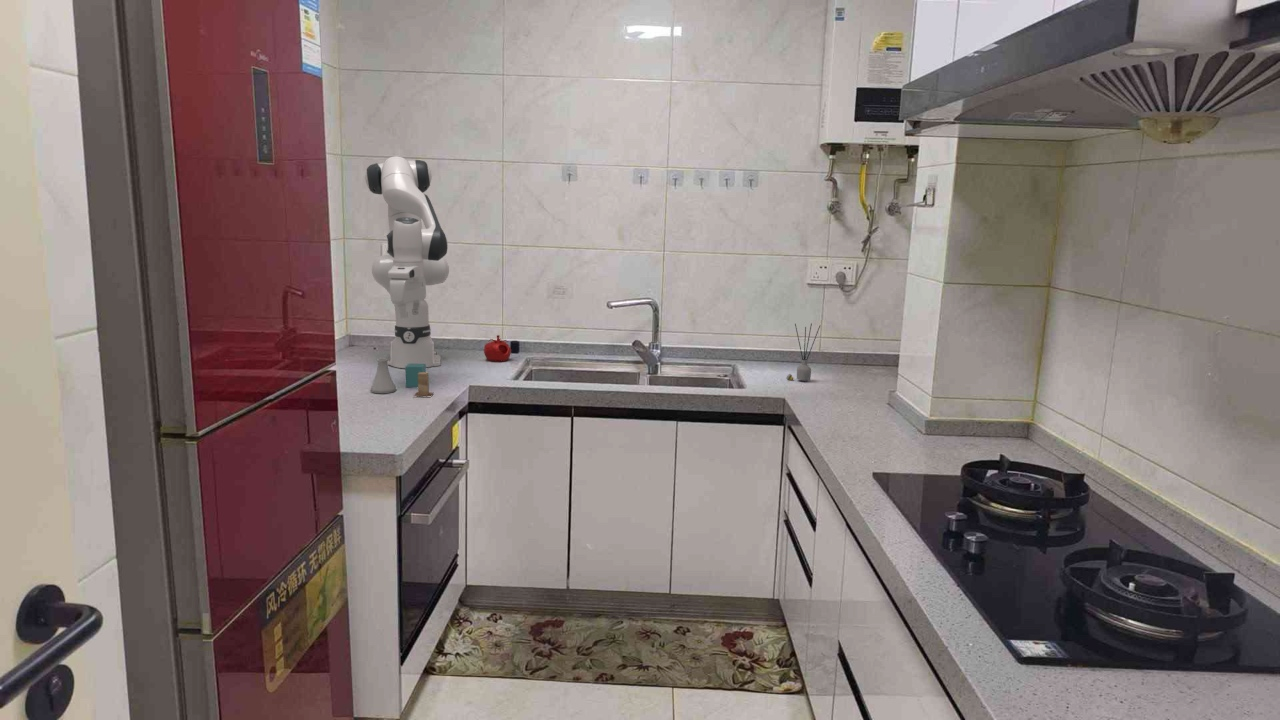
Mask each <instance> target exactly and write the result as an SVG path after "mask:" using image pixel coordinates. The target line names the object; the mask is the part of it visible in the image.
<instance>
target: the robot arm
mask: <svg viewBox="0 0 1280 720" xmlns="http://www.w3.org/2000/svg"><path fill="white" fill-rule="evenodd" d="M364 176H365V177H364V179H365V184H366V186H367V188H368V189H369V191H370V192H371V193H372V194H375V195H382V197H383V199H384V201H385V203H386V204H387V205H388V206H387V216H388V217H387V218H388V227H389V232H388V233H387V235H386V239H387V250H386V251H387V254H383V255H379V256H377V257H376V258H375V259H374V260H373V263H372V265H371V273H372V276H373V278H374V281H375V282H377V284H379V285H380V286H381V287H383V288H384V289H385V290H386V291H387V293H389V295H390V301H391V302H392V304H393V305H394V312H395V325H394V336H395V337H394V339H393V340H391V341H390V360H388V362H387V364H388V366H392V367H394V368H398V369H399V368H400V369H405V366H407V365H408V364H409V363H410V364H426V368H430V367H431V368H432V367H437V366H442V365H441V355H438V354H437V351H435V342H434V341H433V339H432V337H431V325H430V323H429V305H428V302H427V300H425V299H426V297H427V288H426V287H427V286H434V285H438V284H443V283H444V282H445V281H446V280H447V278H448V277H449V273H450V265H449V262H447V259H446V258H445V256H446V255H447V253H448V247H449V246H448V245H449V243H448V239H447V237H446V233H445V232H444V230H443V229H442V226H441V224H440V222H439V219H438V216H437V214H436V212H435V207H434V206H433V204H432V201H431V200H430V198H429V196H428V195H427V194H425V192H427V191H428V189H429V188H430V186H431V182H432V177H433V176H432V170H431V169H430V167H429V165H428V163H427V162H426V161H425V160H420V159H415V160H407V159H406V158H404V157H402V156H397V155H396V156H390V157H388V158H387V159H386V160H385V161H384V162H381V163H377V162H376V163H373V164H370V165H368V167H367V168H366V171H365V175H364ZM422 222H423V225H424V227H425V228H423V226H422Z"/></svg>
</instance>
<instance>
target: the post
mask: <svg viewBox="0 0 1280 720" xmlns="http://www.w3.org/2000/svg"><path fill="white" fill-rule="evenodd" d="M429 379H430V377H429V371H426V372H419V373H418V388H417V392H416V393H414V394H413V396H417V397H416V398H419V397H418V396H431V395H432V394H433V393H434V391H433V392H432V391H430V390H429V389H430V386H429V385H430V384H429V382H430V381H429ZM434 394H435V393H434ZM434 394H433V395H434ZM433 395H432V396H433ZM432 396H431V397H432Z"/></svg>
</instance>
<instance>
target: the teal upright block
mask: <svg viewBox="0 0 1280 720" xmlns="http://www.w3.org/2000/svg"><path fill="white" fill-rule="evenodd" d="M404 370H405V372H404V373H405V388H406V387H418V373H419V372H427V367H426V364H410V363H409V364H408V365H407V366H405V368H404Z"/></svg>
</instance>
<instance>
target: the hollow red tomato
mask: <svg viewBox="0 0 1280 720" xmlns="http://www.w3.org/2000/svg"><path fill="white" fill-rule="evenodd" d="M500 337H501V336H500V335H499V334H498V335H496V339H492V338H490V339H489V340H488V342H487V343H486V344H484V348H483V354H484V356H485V358H486V359H487V360H488V361H490V362H506V361H508V359H509V358H510V357H511V355H512V354H511V353H512V348H511V347H510V346H509V344H508V343H509V342H510V341H508V340H507V339H505V340H502V338H500ZM509 360H510V359H509Z"/></svg>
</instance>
